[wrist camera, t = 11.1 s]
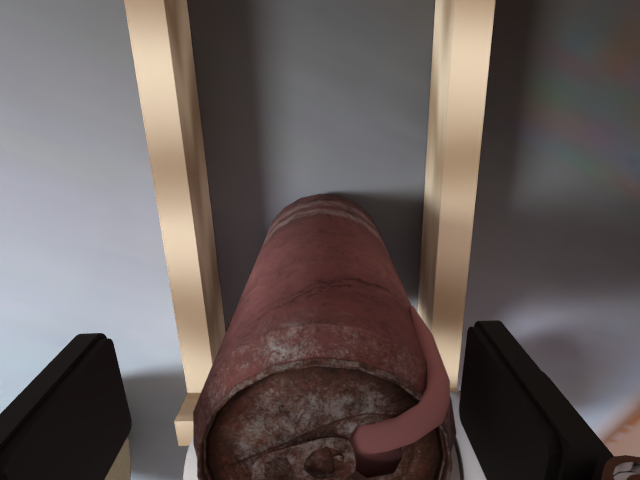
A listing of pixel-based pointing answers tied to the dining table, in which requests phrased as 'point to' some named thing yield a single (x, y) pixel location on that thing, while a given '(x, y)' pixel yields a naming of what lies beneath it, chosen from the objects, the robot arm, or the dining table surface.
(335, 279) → the can
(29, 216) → the dining table surface
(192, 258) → the bay
